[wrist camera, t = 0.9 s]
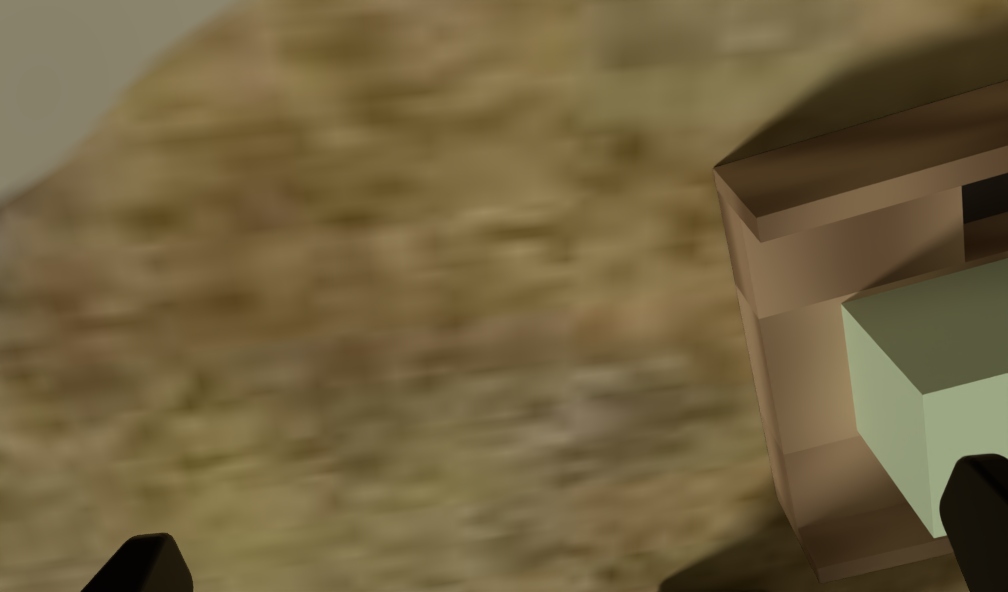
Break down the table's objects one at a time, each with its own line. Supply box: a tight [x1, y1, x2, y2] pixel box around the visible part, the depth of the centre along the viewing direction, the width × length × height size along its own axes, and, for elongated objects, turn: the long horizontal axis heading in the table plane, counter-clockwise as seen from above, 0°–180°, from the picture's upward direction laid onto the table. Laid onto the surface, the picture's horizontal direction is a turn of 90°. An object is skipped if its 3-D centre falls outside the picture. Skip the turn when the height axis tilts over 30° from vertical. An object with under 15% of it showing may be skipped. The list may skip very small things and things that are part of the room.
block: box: [841, 258, 1008, 538], centre depth 18 cm, size 4×4×4 cm
